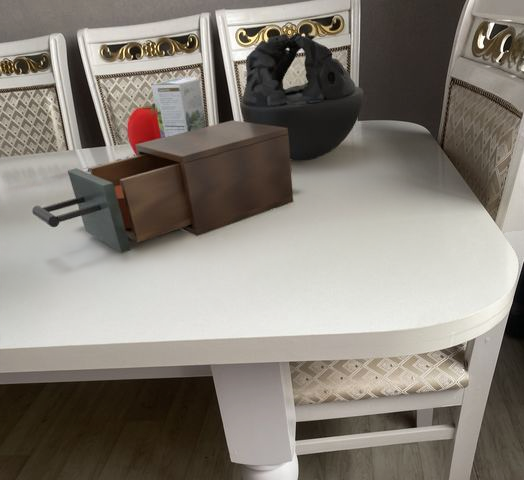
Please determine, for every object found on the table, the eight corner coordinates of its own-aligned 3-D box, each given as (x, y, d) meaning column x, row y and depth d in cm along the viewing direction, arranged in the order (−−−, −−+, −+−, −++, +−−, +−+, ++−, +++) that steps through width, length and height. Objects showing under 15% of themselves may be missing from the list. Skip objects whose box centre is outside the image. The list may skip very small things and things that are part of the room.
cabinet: (197, 236, 65) (182, 156, 60) (151, 215, 74) (134, 144, 69) (293, 201, 72) (287, 127, 67) (241, 186, 81) (232, 120, 76)
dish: (124, 235, 62) (115, 201, 60) (103, 223, 67) (94, 192, 65) (172, 219, 65) (166, 186, 63) (149, 208, 70) (142, 178, 68)
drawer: (70, 271, 58) (47, 201, 53) (39, 245, 66) (16, 183, 61) (225, 217, 67) (215, 154, 63) (181, 200, 75) (170, 143, 71)
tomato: (120, 168, 100) (106, 109, 95) (161, 152, 108) (150, 98, 102) (166, 171, 94) (154, 109, 88) (206, 155, 102) (197, 96, 96)
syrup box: (185, 166, 95) (169, 78, 87) (213, 167, 93) (199, 76, 85) (168, 176, 91) (149, 83, 83) (196, 176, 89) (179, 81, 81)
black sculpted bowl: (271, 145, 102) (260, 33, 92) (374, 143, 95) (374, 21, 85) (229, 176, 87) (210, 46, 77) (347, 175, 80) (344, 31, 69)
